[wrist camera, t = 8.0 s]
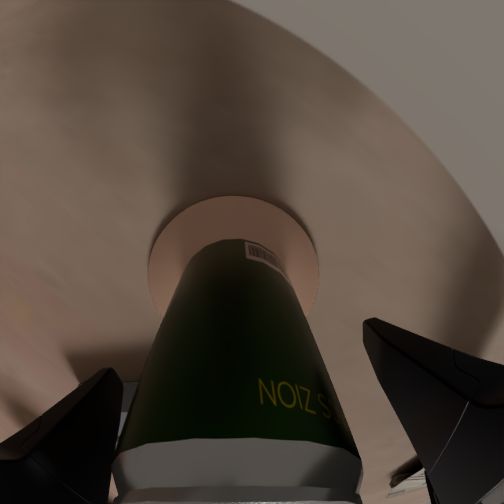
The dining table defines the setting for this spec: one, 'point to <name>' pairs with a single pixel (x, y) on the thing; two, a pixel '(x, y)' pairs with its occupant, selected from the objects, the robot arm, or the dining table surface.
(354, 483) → the beer can
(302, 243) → the coaster
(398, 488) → the newspaper
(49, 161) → the dining table surface
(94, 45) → the dining table surface
